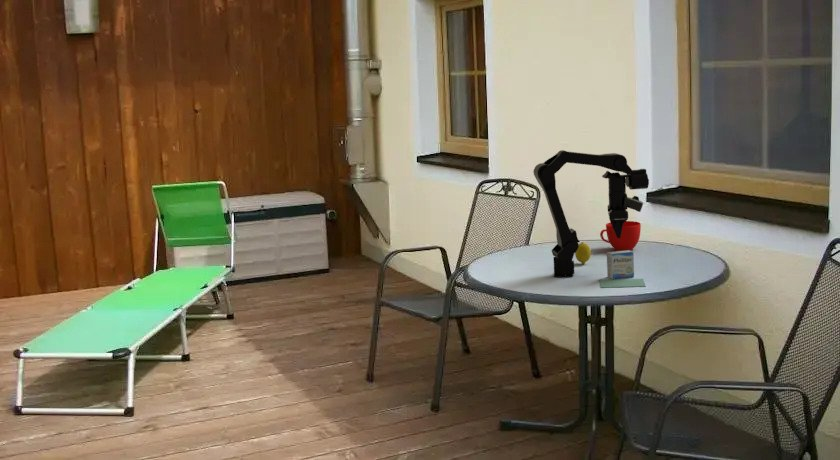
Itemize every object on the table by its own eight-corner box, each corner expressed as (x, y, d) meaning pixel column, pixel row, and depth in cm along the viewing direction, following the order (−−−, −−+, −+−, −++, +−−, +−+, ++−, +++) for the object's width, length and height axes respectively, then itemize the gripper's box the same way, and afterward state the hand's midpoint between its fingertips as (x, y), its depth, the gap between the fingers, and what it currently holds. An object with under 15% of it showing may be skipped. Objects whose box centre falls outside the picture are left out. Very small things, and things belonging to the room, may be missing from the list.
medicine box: (612, 279, 320) (611, 254, 319) (607, 277, 324) (606, 251, 323) (634, 277, 322) (633, 251, 320) (629, 274, 326) (628, 249, 324)
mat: (600, 287, 310) (600, 287, 309) (599, 280, 320) (599, 279, 320) (645, 286, 307) (645, 286, 307) (643, 279, 318) (643, 278, 317)
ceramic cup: (591, 250, 370) (590, 225, 368) (627, 245, 377) (626, 219, 375) (611, 255, 358) (610, 229, 357) (648, 249, 365) (647, 223, 363)
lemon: (580, 266, 344) (580, 244, 342) (572, 263, 349) (571, 241, 348) (594, 264, 346) (593, 242, 344) (585, 261, 351) (585, 240, 350)
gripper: (643, 193, 318) (644, 240, 320) (639, 186, 336) (640, 230, 338) (608, 194, 319) (609, 240, 322) (607, 187, 338) (608, 231, 340)
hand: (618, 235), depth 331 cm, fingers open, 9 cm apart
